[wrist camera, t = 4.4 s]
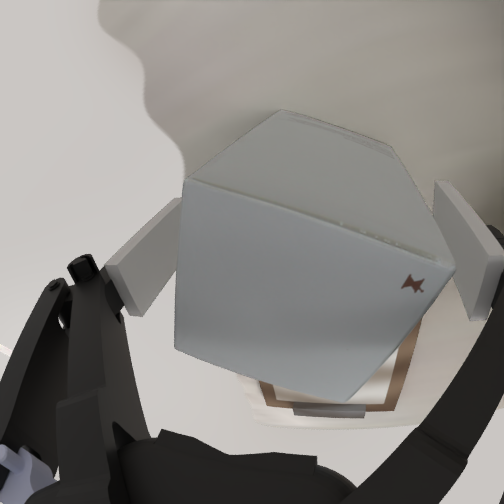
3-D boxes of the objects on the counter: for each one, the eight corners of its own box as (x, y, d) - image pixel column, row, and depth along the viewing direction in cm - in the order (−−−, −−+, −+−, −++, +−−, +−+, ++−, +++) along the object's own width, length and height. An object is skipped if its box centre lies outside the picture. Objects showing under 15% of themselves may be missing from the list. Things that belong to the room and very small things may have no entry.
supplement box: (278, 105, 17) (178, 166, 7) (394, 146, 16) (470, 270, 6) (252, 208, 21) (167, 351, 11) (353, 243, 20) (347, 410, 10)
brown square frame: (236, 279, 25) (226, 299, 23) (424, 277, 20) (430, 299, 18) (269, 395, 34) (265, 412, 32) (393, 400, 29) (393, 418, 27)
